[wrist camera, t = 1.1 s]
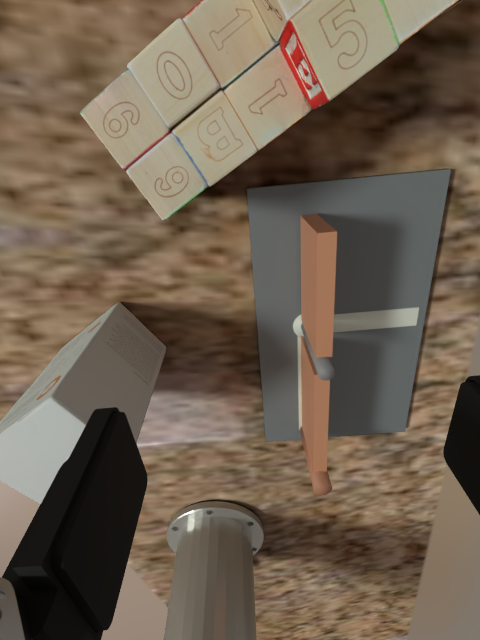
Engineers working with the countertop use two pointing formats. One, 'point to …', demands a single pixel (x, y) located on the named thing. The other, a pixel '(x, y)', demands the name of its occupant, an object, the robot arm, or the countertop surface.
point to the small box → (78, 398)
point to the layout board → (347, 294)
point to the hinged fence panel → (318, 290)
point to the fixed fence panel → (315, 421)
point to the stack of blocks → (239, 84)
